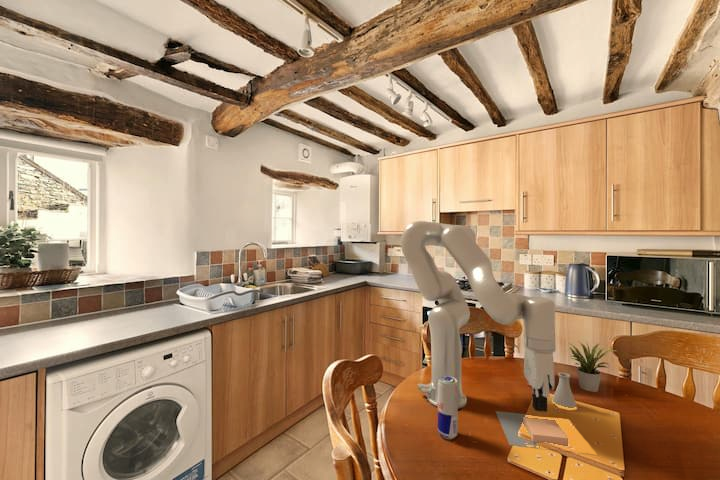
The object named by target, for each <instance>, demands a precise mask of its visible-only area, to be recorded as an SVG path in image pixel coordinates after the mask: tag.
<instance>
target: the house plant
mask: <svg viewBox="0 0 720 480" xmlns="http://www.w3.org/2000/svg"><path fill="white" fill-rule="evenodd" d="M577 342H578V343H579V344H580V345H581V348H582V350H583V353H584V355H583V354H582V353H581V351H580V350H579V349H578V348H577V347H576V346H575V345H573V344H572V343H569V342H568V344H569V345H571V346H572V347H573V348H572V347H569V346H568V347H569V350H570V351H571V353H572V355H570V356H569V357H570V358H571V359H572V360H574V361H577V362H578V363H577V362H576V363H574V365H577V366H578V367H576V372H577V378H578V384H579V387H580V388H581V389H582V390H585V391H586V392H594V393H595V392H599V387H600V381H601V376H602V371H601V370H599V369H597V368H608V369H609V367H608V366H606V365H609V366H610V364H609V363H608V362H604V361H603V362H600V363H598V364H597V362H598V361H599V359H601V358H603V356H606V355H607V354H608V353H611V352H617V350H614V349H612V350H611V349H609V350H605V351H603V350H604V348H603V347H602V348H600V347H599V345H601V342H600V343H599V342H598V343H596V344H595V345H594V346H593V348H592V349H590V346H589V344H588V343H586V345H585V344H583V343H582V342H581V341H578V340H577ZM598 347H599V348H598ZM597 350H598V351H597ZM584 356H585V357H584ZM596 364H597V365H596Z"/></svg>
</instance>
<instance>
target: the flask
mask: <svg viewBox="0 0 720 480" xmlns="http://www.w3.org/2000/svg"><path fill="white" fill-rule="evenodd" d="M558 377H559V378H558V379H559V380H558V385H557V386H556V390H555V391H554V393H553V395H552V399H553V402H555V403H556V404H558V405H561V406H564V407H568V408H574V407H577V408H578V406H577V402H576V399H575V397H574V394H573V392H572V389H571V385H570V379H571V374H570V373H569V374H568V373H567V372H558ZM552 399H551V400H552Z"/></svg>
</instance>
